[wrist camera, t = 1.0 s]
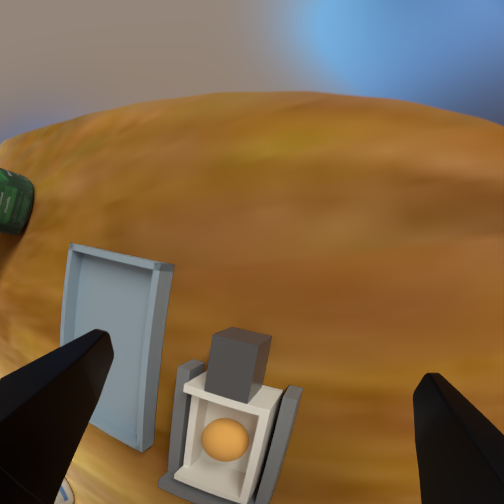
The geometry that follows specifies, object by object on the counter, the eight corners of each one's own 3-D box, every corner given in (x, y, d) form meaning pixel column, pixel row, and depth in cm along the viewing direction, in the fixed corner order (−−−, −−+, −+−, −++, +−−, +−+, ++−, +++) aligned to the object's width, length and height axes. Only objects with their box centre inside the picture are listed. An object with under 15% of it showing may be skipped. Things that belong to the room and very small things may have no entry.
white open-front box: (260, 478, 21) (246, 505, 17) (195, 457, 23) (174, 478, 19) (293, 339, 21) (283, 351, 18) (216, 321, 23) (191, 328, 19)
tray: (153, 444, 24) (141, 452, 22) (73, 399, 27) (60, 403, 25) (174, 264, 25) (160, 263, 23) (84, 245, 28) (69, 242, 26)
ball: (249, 455, 21) (236, 475, 17) (208, 442, 22) (190, 459, 18) (258, 419, 21) (245, 436, 18) (215, 406, 22) (197, 420, 19)
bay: (271, 497, 20) (259, 525, 17) (180, 466, 23) (158, 487, 19) (303, 388, 21) (293, 408, 17) (193, 359, 23) (167, 371, 20)
